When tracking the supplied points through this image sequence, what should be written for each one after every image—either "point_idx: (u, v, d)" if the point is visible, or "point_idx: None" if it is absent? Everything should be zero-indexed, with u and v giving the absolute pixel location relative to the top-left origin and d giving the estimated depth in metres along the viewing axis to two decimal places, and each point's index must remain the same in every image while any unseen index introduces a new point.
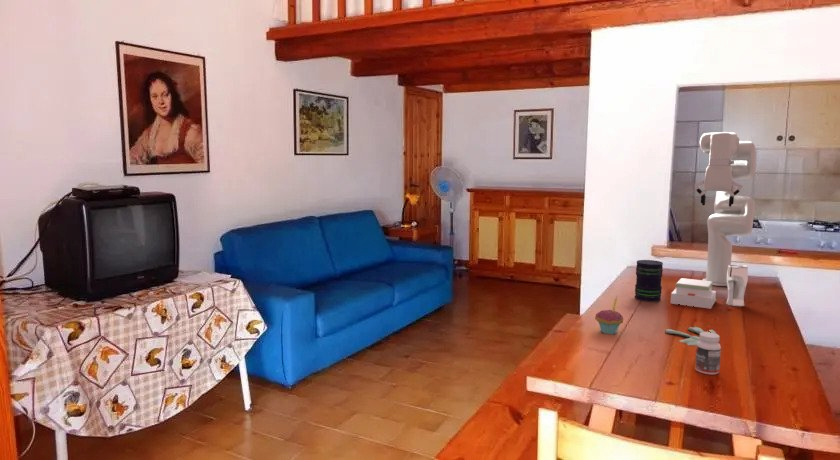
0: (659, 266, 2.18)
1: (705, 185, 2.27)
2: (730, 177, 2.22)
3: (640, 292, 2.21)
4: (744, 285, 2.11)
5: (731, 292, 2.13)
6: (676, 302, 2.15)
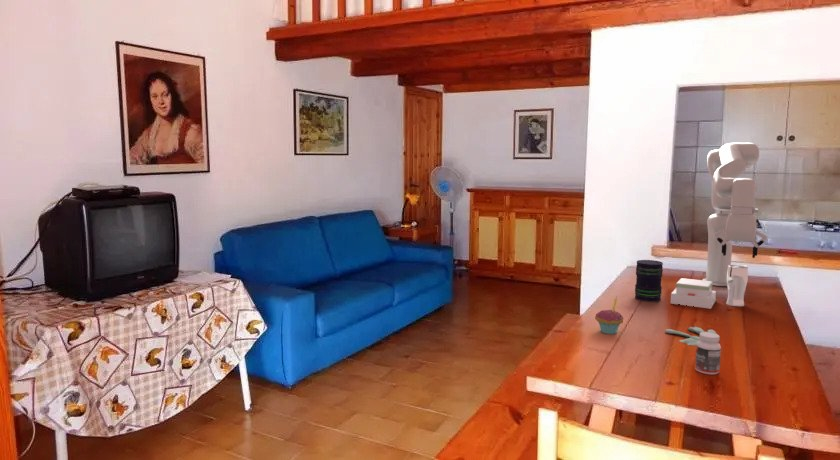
0: (659, 266, 2.18)
1: (726, 234, 2.12)
2: (754, 227, 2.07)
3: (640, 292, 2.21)
4: (744, 285, 2.11)
5: (731, 292, 2.13)
6: (676, 302, 2.15)
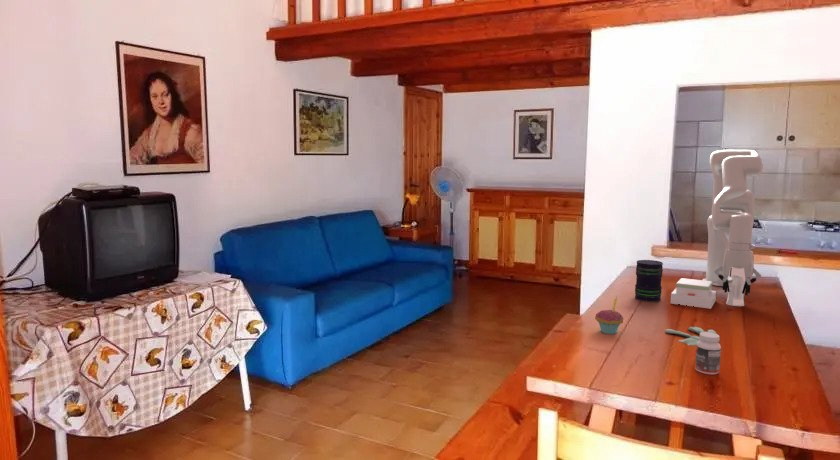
0: (659, 266, 2.18)
1: (724, 269, 2.14)
2: (751, 263, 2.09)
3: (640, 292, 2.21)
4: (744, 285, 2.11)
5: (731, 292, 2.13)
6: (676, 302, 2.15)
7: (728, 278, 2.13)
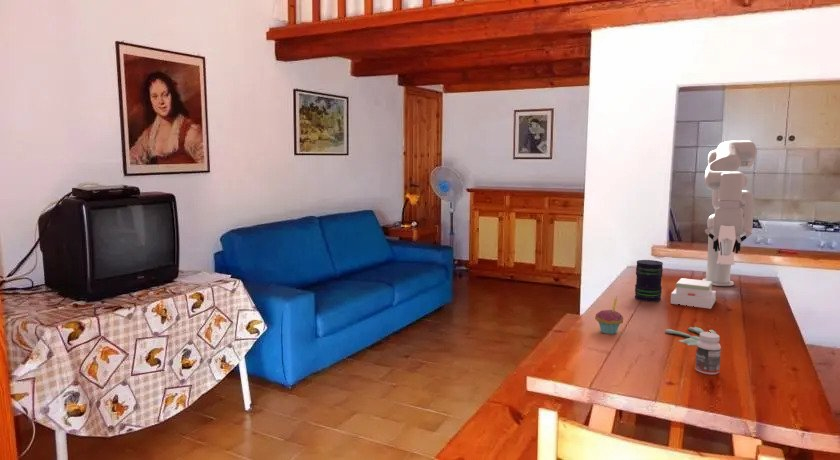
0: (659, 266, 2.18)
1: (714, 228, 2.13)
2: (741, 220, 2.08)
3: (640, 292, 2.21)
4: (734, 243, 2.10)
5: (722, 251, 2.12)
6: (676, 302, 2.15)
7: (718, 237, 2.12)
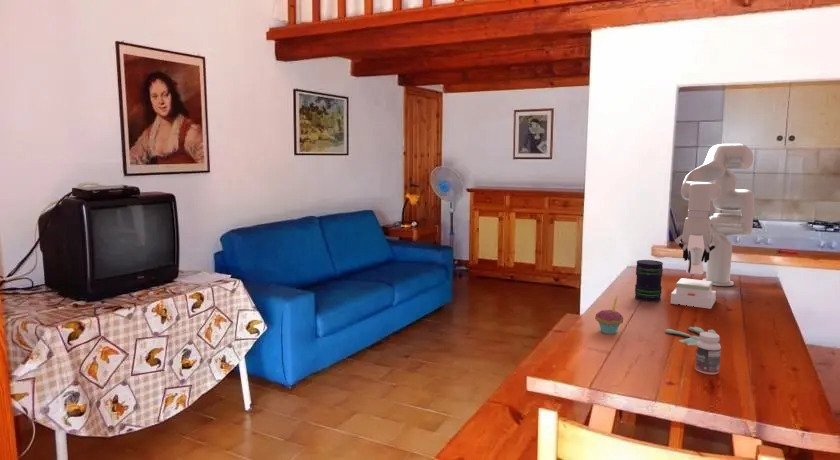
0: (659, 266, 2.18)
1: (684, 237, 2.16)
2: (709, 230, 2.11)
3: (640, 292, 2.21)
4: (703, 252, 2.13)
5: (691, 260, 2.15)
6: (676, 302, 2.15)
7: (688, 246, 2.16)
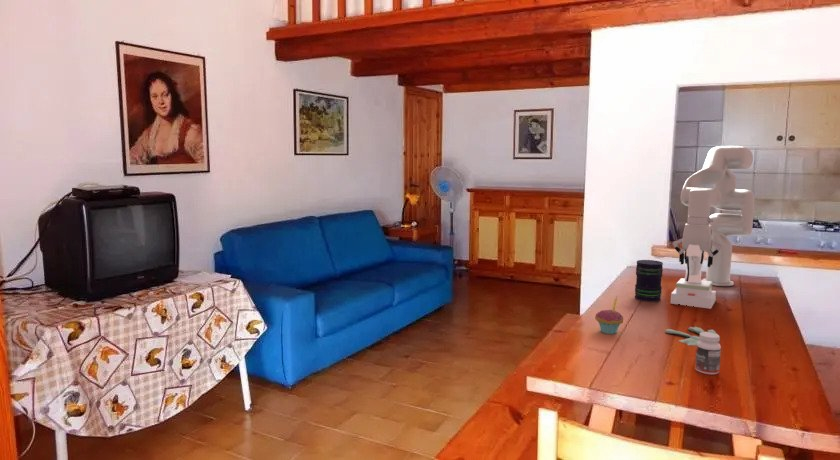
0: (659, 266, 2.18)
1: (683, 243, 2.17)
2: (709, 236, 2.11)
3: (640, 292, 2.21)
4: (701, 262, 2.14)
5: (689, 269, 2.17)
6: (676, 302, 2.15)
7: (686, 255, 2.17)
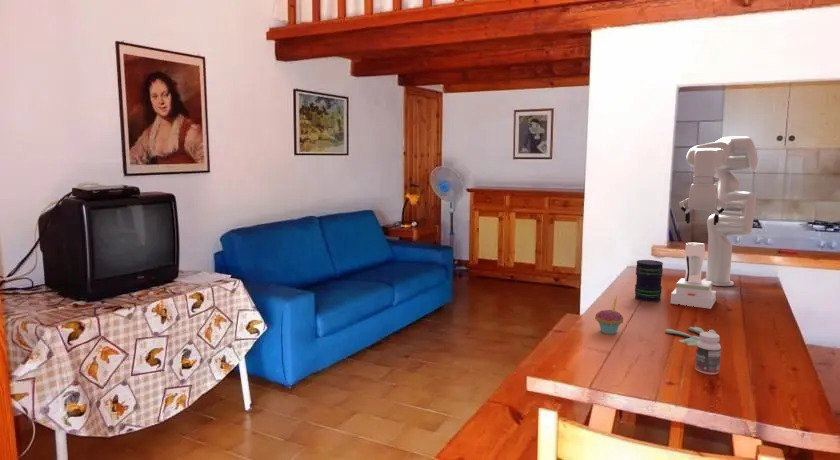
0: (659, 266, 2.18)
1: (689, 203, 2.22)
2: (714, 195, 2.17)
3: (640, 292, 2.21)
4: (701, 262, 2.14)
5: (689, 269, 2.17)
6: (676, 302, 2.15)
7: (686, 255, 2.17)
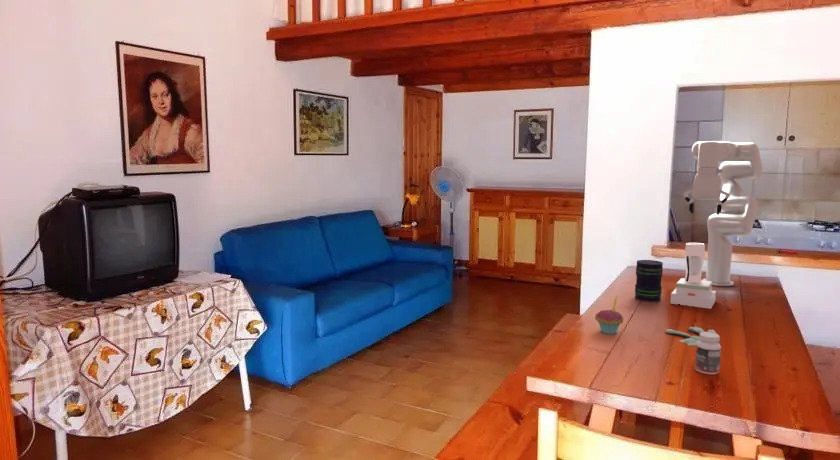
0: (659, 266, 2.18)
1: (693, 193, 2.29)
2: (718, 186, 2.24)
3: (640, 292, 2.21)
4: (701, 262, 2.14)
5: (689, 269, 2.17)
6: (676, 302, 2.15)
7: (686, 255, 2.17)
